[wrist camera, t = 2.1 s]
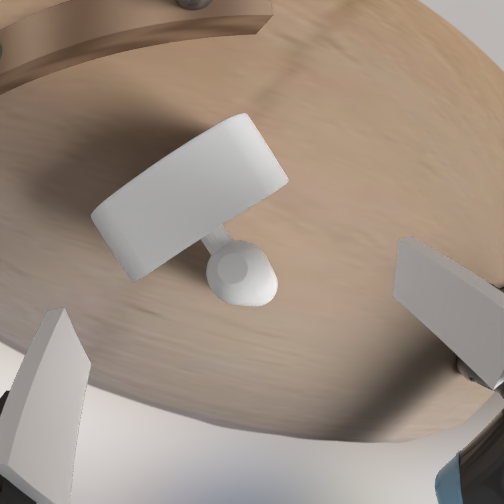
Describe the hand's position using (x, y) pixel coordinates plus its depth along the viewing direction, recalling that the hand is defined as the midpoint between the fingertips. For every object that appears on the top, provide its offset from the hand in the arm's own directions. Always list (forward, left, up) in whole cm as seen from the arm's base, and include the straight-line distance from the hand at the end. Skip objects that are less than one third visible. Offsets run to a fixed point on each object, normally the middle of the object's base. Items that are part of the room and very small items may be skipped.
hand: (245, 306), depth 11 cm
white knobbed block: (0, 0, -11) cm, 11 cm away
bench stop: (+14, +6, -11) cm, 18 cm away
